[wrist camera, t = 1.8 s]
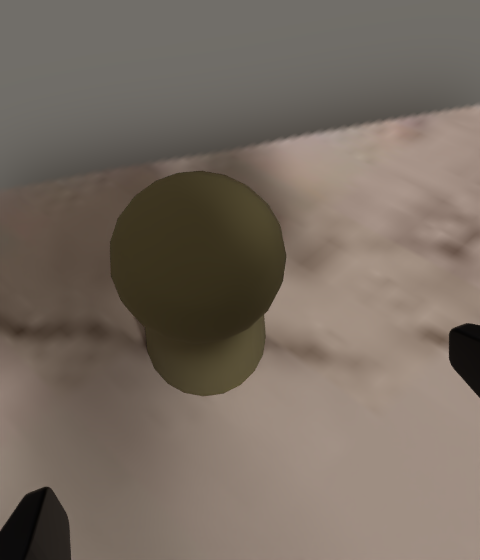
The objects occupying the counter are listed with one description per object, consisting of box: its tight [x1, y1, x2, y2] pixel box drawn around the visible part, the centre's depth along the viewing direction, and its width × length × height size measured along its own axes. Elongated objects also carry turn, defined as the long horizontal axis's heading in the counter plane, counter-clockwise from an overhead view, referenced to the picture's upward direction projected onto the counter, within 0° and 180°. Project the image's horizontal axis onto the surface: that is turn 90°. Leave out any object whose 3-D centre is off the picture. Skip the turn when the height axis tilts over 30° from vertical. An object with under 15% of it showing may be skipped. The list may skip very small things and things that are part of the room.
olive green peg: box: [110, 171, 286, 396], centre depth 16 cm, size 6×6×11 cm
